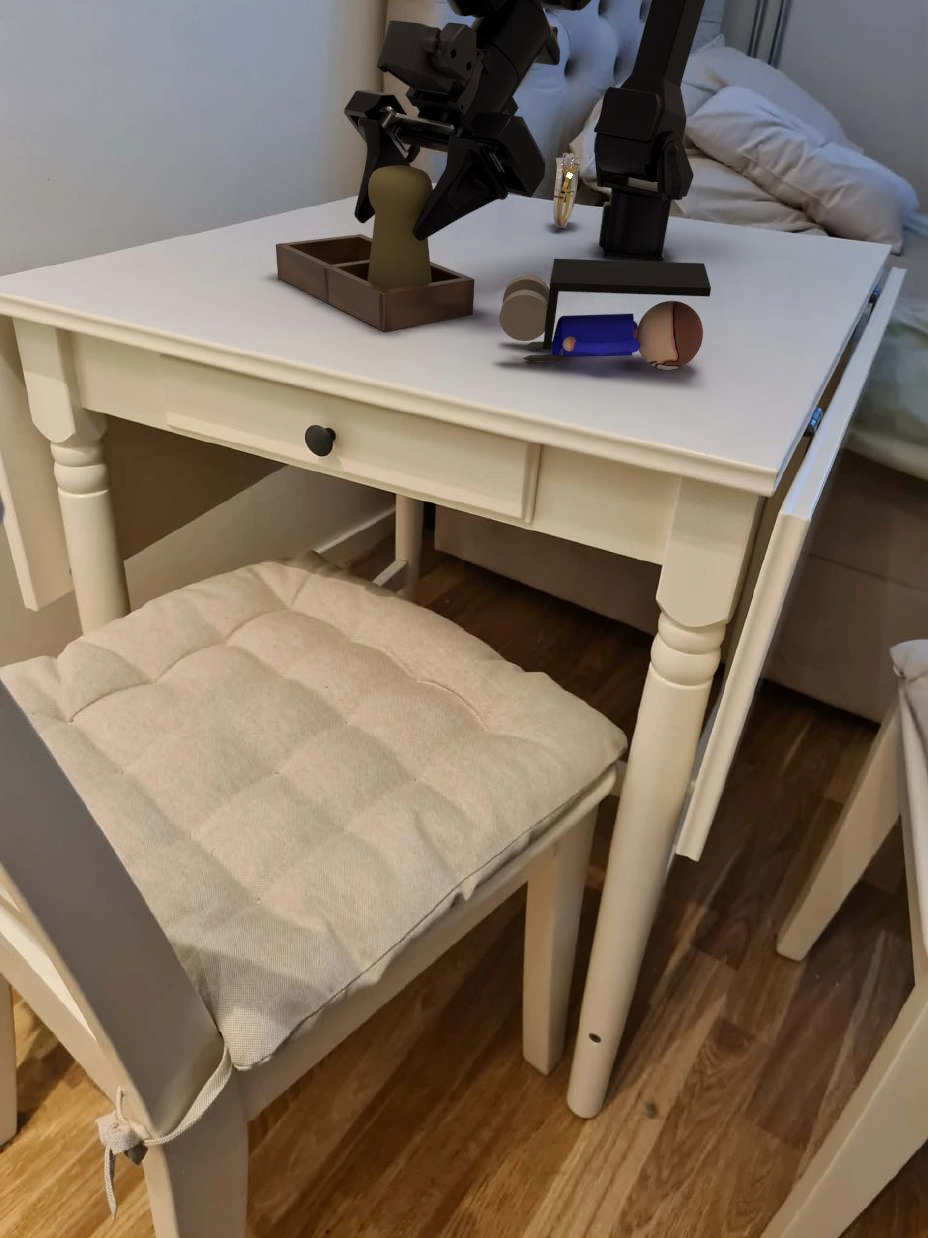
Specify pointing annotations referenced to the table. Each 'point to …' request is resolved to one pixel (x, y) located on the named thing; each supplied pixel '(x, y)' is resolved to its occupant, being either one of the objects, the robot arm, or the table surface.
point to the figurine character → (659, 337)
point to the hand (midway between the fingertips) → (386, 227)
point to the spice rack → (342, 282)
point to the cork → (398, 227)
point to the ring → (565, 188)
